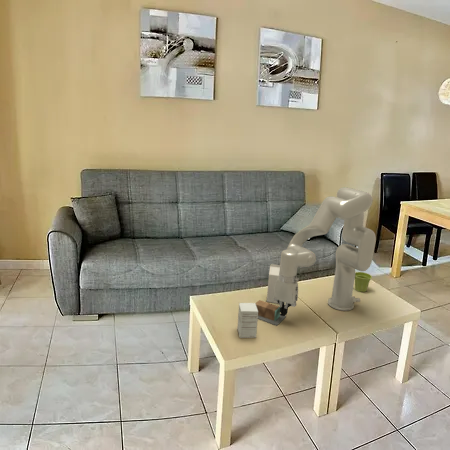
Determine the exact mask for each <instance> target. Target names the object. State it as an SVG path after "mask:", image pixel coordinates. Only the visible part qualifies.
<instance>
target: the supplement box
mask: <svg viewBox="0 0 450 450" xmlns="http://www.w3.org/2000/svg"><path fill="white" fill-rule="evenodd" d="M255 303H256V302H238V313H237V314H238V315H237V326H236V327H237V331H238V337H239V338H240V339H244V338H246V339H247V338H248V339H249V338H250V339H251V338H257V330H258V321H259V319H258V309H257V307H256V304H255Z"/></svg>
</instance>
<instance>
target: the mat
mask: <svg viewBox="0 0 450 450" xmlns="http://www.w3.org/2000/svg"><path fill="white" fill-rule="evenodd" d="M286 318H287V315H285V316H281V315H280V317H279V318H278V319H277V320H276V321H273V320H270V319H268V318H265V317H262V316H259V315H258V321H259V320H260V321H263V322H265V323H268V324H271V325H272V326H276V327H277V326H278V325H280V323H282V322H283V321H284V320H285V319H286Z"/></svg>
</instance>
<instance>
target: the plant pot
mask: <svg viewBox="0 0 450 450" xmlns="http://www.w3.org/2000/svg"><path fill="white" fill-rule="evenodd" d="M372 278H373V276H372V275H371V273H367V272H365V271H357V272H356V271H355V280H354V289H355V291H358V292H359V293H360V292H363V293H365V292H367V290H368V287H369V283H370V281H371V279H372Z"/></svg>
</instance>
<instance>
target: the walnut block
mask: <svg viewBox="0 0 450 450" xmlns="http://www.w3.org/2000/svg"><path fill="white" fill-rule="evenodd" d="M254 303H255V304H256V307H257V309H258V315H259V316H262V317H265V318H268V319H270V320H273V321H276V320H277V319H278V318H279V317H280V314H281V313H280V305H276V304H274V303H271V302H267V301H264V300H261V299H259V300H257V301H256V302H254Z"/></svg>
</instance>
